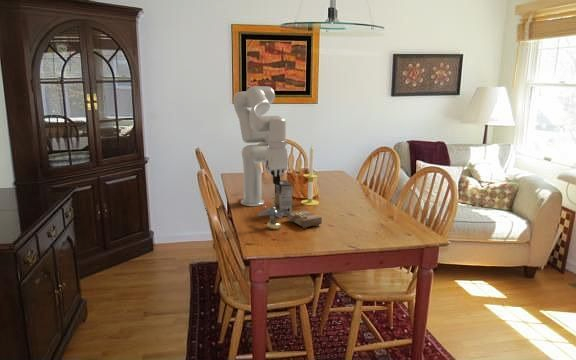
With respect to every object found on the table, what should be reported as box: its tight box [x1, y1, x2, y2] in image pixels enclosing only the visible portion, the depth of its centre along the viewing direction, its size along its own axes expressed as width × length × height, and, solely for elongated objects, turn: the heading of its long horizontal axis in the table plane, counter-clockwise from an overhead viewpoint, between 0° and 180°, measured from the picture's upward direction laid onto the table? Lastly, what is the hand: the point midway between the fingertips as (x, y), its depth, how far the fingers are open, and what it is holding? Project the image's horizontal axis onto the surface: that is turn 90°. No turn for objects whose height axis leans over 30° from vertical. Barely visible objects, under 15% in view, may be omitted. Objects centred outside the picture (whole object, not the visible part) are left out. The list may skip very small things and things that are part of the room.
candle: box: [300, 144, 320, 206], centre depth 247 cm, size 10×10×32 cm
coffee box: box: [274, 179, 294, 217], centre depth 230 cm, size 9×6×16 cm
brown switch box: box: [286, 209, 323, 230], centre depth 216 cm, size 14×10×6 cm
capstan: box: [257, 205, 287, 230], centre depth 211 cm, size 16×15×9 cm
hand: (276, 184), depth 214 cm, fingers closed
